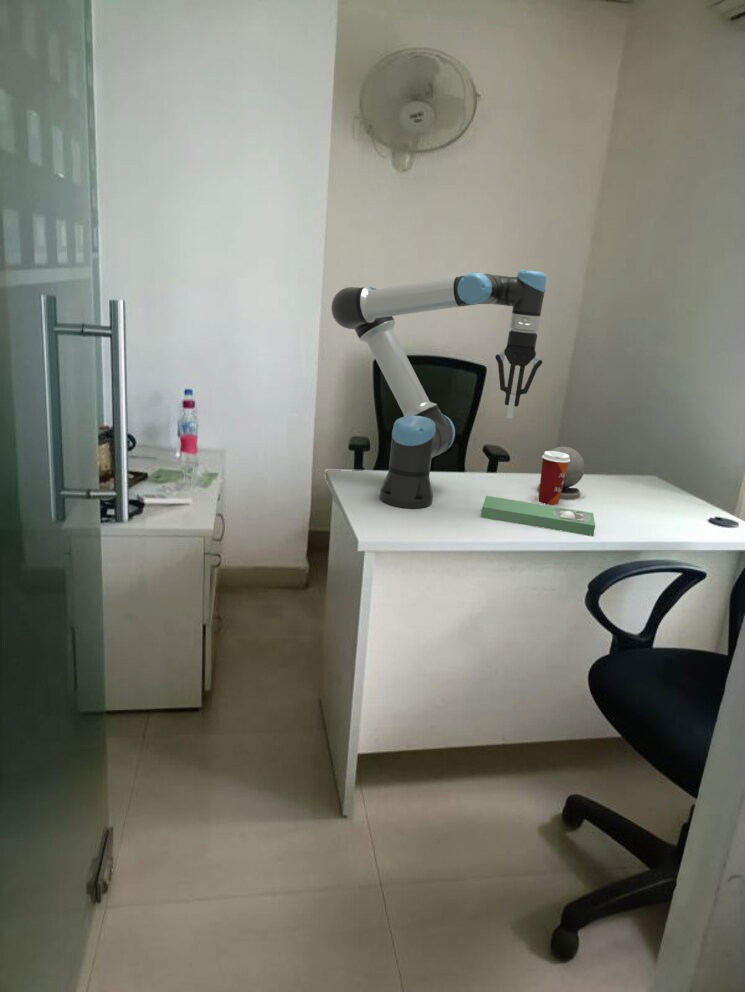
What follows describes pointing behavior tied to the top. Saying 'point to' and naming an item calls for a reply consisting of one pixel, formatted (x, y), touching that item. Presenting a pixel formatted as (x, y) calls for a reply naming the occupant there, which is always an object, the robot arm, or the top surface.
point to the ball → (568, 514)
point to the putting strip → (537, 515)
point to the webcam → (571, 473)
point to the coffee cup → (552, 476)
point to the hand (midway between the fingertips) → (509, 417)
